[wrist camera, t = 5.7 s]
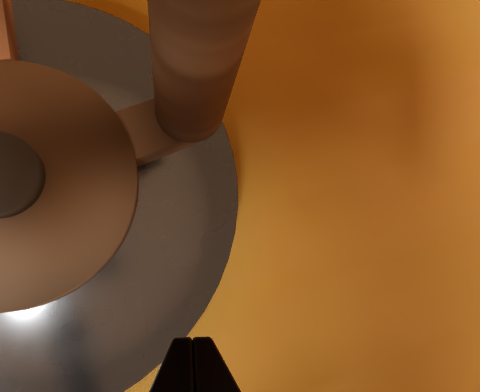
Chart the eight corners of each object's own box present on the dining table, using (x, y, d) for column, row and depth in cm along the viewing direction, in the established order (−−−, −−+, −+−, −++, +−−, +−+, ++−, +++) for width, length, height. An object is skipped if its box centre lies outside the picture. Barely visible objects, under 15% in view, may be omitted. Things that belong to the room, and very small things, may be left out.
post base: (155, 475, 15) (150, 559, 11) (-322, 345, 14) (-580, 375, 9) (275, 95, 20) (310, 33, 15) (-74, -36, 18) (-160, -152, 14)
